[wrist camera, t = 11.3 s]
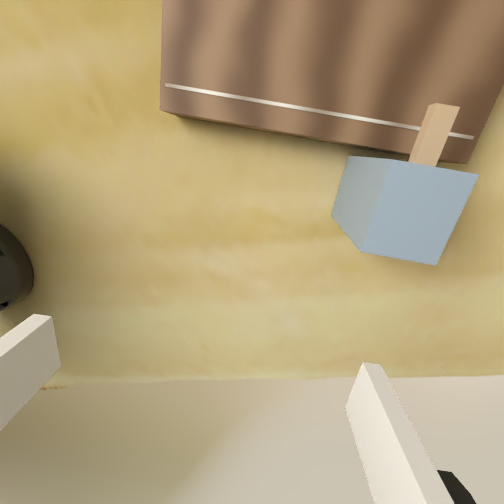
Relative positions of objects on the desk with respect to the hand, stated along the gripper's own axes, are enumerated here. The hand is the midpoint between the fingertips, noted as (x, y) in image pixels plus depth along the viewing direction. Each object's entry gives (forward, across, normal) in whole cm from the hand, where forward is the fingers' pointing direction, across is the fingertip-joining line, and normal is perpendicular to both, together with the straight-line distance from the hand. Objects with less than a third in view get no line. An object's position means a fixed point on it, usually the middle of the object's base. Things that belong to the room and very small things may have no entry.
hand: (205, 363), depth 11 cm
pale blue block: (+23, +13, +8) cm, 28 cm away
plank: (+23, +6, +16) cm, 29 cm away
